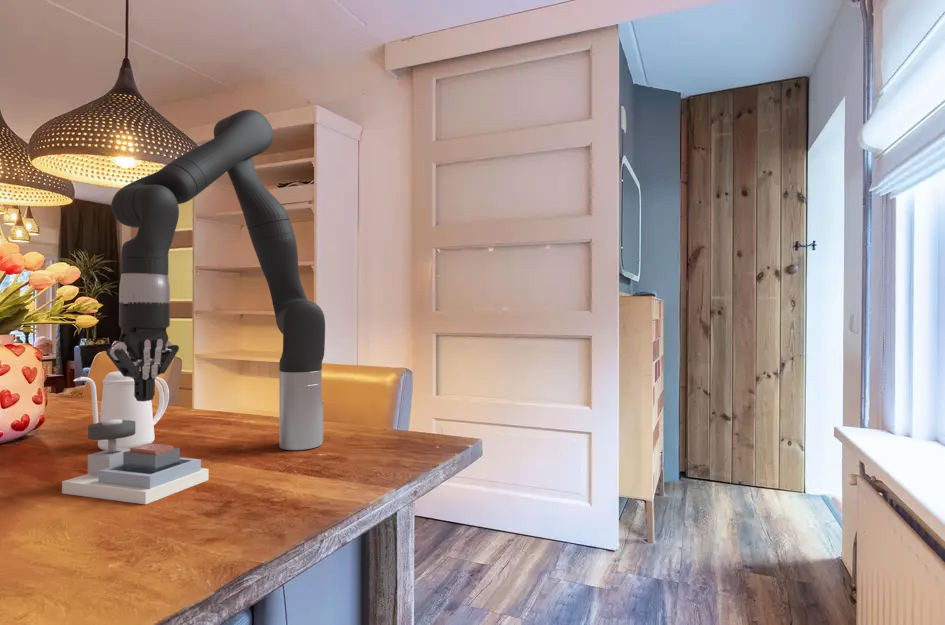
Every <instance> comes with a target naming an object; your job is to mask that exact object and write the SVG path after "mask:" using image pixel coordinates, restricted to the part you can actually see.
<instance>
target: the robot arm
mask: <svg viewBox="0 0 945 625" xmlns="http://www.w3.org/2000/svg"><path fill="white" fill-rule="evenodd" d="M273 141H274V130H273V127H272V125H271V123H270V121H269V120H268V118H267V117H266V116H265V115H264V114H263V113H261V112H259V111H258V110H254V109H243V110H240V111H238V112H235V113H234V114H230V115H229V116H227V117H225V118H223V119H221V120H219V121H217V122H216V124H215V126H214V128H213V138H212V139H210V140H208V141H207V142H205V143H203V144H200V145H198V146H197V147H194V148H193V149H191V150H189V151H187V152H185V153H183V154H182V155H180V156H178V157H177V158H175V159H173V160H172V161H171V162H168V163H167V164H165V165H164V167H162V168H160V169H159V170H158V171H155V172H154V173H152V174H148V175H146V176H143V177H142V178H139V179H137V180H134V181H132V182H131V183H130V182H129V183H128V184H125V185H124V186H123V187H121V188H120V189H118V190H117V192H116V193H115V194H114V195H113V198H112V200H111V204H110V206H111V212H112V214H113V217H114V218H115V220H117V221H118V222H119V223H121V224H122V225H123V226H127V227H129V228H137V229H138V230H137V233H136V235H135V236H134V237H133V238H131V239H128V240H127V241H126V242H124V243H123V244H122V247H121V255H120V260H121V261H120V262H121V263H120V264H121V265H120V274H121V275H120V280H119V286H118V288H119V289H118V290H119V291H118V299H119V300H118V303H119V304H118V305H119V306H118V326H119V327H120V328H121V334H120V336H119V342H118V344H117V345H115V346H114V347H113V348H107V350H106V352H105V353H106V355H107V356H108V358H109V359H110V360H111V362H112V363H113V364H114V366H115V367H116V369H117V371H120V372H121V373H122V375H123V376H124V377H131V378H133V379H134V389H135V390H134V396H135V398H136V400H137V401H150V400H151V401H153V400H154V397H155V393H156V391H155V390H156V384H155V380H156V377H159V375H161V374H166V372H167V370H168V368H169V366H170V365H171V363H172V361H173V360H174V358H175V357H176V355H177V353H178V352H179V350H180V347H179V345H177V344H173V343H171V342H170V341H169V335H168V332H167V329H168V328H169V327H170V325H171V319H170V318H171V288H170V286H171V285H170V281H169V280H170V278H169V253H170V249H171V246H172V243H173V239H174V236H175V232H176V229H177V226H178V222H179V216H180V208H179V205H183V204H184V203H185V204H186V203H187V202H189V201H191V200H193V199H194V198H195V197H196V196H198V195H199V194H200V193H202V192H203V191H205V190H206V189H207V188H208V187H209V186H210V185H211V184H213V183H214V182H216V181H217V180H218V179H219V178H220V177H222V176H223V175H224V174H225V173H227V174H228V176H229V179H230V181H231V184H232V186H233V189H234V191H235V194H236V198H237V200H238V203H239V205H240V208H241V210H242V215H243V217H244V220H245V225H246V228H247V231H248V235H249V237H250V241H251V243H252V246H253V249H254V252H255V255H256V257H257V259H258V260H257V261H258V262H259V265H260V268H261V271H262V272H263V275H264V277H265V280H266V282H267V286H268V289H269V293H270V296H271V301H272V307H273V311H274V312H273V313H274V316H275V317H274V318H275V321H276V322H275V323H276V325H277V327H278V328H277V329H278V330H279V331H280V333H281V334H282V338H283V339H282V340H283V341H282V354H281V356H280V359H279V361H278V362H279V365H278V366H279V367H278V369H279V370H278V371H279V373H278V374H279V375H278V376H279V378H278V380H279V382H278V383H279V386H278V387H279V388H278V390H279V393H278V394H279V396H278V397H279V398H278V399H279V403H278V404H279V405H278V406H279V407H278V408H279V410H278V411H279V413H278V414H279V418H278V419H279V420H278V422H279V423H278V424H279V425H278V426H279V427H278V429H279V430H278V431H279V432H278V434H279V435H278V436H279V438H278V439H279V443H278V444H279V449H281V450H286V451H287V450H288V451H303V450H309V449H310V450H311V449H315V448H317V447H320V446H321V445H322V443H323V442H324V401H323V399H322V396H323V395H322V394H323V393H322V391H323V390H322V389H323V388H322V386H323V384H322V383H323V382H322V380H323V378H322V374H323V373H322V370H323V369H322V368H323V361H324V357H325V350H326V349H325V347H326V320H325V319H326V318H325V314H324V311H323V309H322V308H321V307H320V306H319V305H318V304H317V303H316V302H313V301H311V300H309V299H308V297H307V295H306V293H305V290H304V288H303V284H302V280H301V277H300V272H299V257H298V256H299V254H298V247H297V246H298V245H297V239H296V234H295V232H294V229H293V225H292V222H291V220H290V217H289V214H288V213H289V212H287V210H286V208H285V207H284V206H283V204H282V202H280V201H279V200H278V199H277V197H275V196H274V195H273V194H272V193H271V192H270V191H269V190H268V189H267V188H266V187H265V185H264V184H263V182H262V181H261V180H260V177H259V175H258V172H257V169H256V167H255V164H254V161H253V160H254V159H253V157H256V156H259V155H261V154H263V153H264V152H266V151H267V150H268V149H269V148H270V147H271V146H272V144H273Z"/></svg>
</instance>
